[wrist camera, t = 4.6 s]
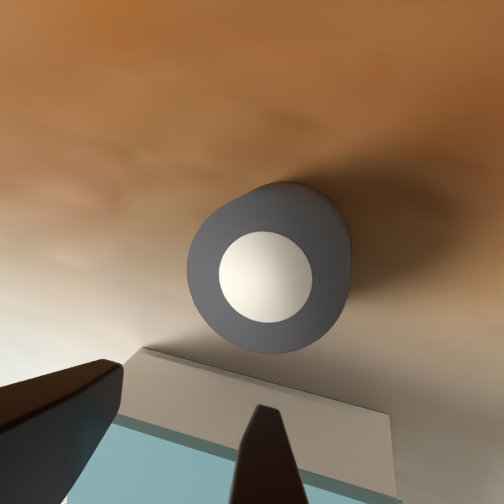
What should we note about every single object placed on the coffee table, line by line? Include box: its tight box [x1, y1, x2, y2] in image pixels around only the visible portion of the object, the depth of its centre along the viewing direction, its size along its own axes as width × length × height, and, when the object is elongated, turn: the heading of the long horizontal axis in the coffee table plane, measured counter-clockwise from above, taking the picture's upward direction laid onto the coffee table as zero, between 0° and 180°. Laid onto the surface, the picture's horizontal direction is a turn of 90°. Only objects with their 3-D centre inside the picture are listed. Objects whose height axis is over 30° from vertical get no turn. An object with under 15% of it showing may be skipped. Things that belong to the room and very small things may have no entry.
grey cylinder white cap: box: [187, 182, 352, 354], centre depth 18 cm, size 6×6×5 cm
